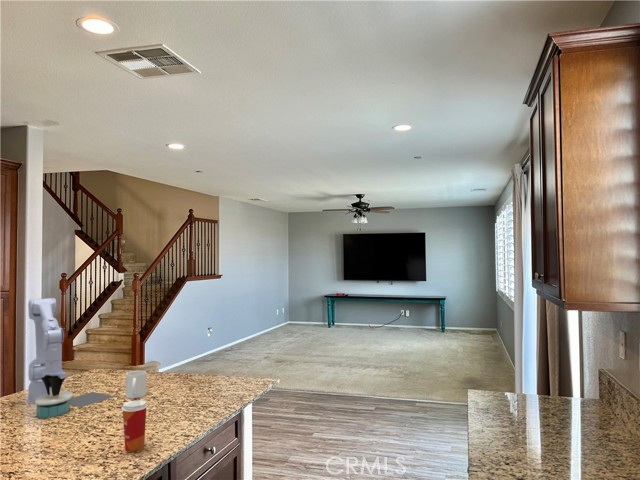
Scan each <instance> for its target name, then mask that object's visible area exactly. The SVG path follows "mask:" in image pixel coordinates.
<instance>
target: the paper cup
mask: <svg viewBox="0 0 640 480" xmlns="http://www.w3.org/2000/svg"><path fill="white" fill-rule="evenodd" d="M147 408H148V404H147V402H146V401H145V400H140V399H139V400H130V401H126V402H124V403H123V405H122V407H121V411H122V417H123V418H122V422H123V436H124V437H123V438H124V448H125V451H126V452H136V451H139V450H142V449H143V448H144V447H145V437H146V436H145V435H146V434H145V433H146V418H147Z"/></svg>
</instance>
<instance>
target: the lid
mask: <svg viewBox="0 0 640 480" xmlns="http://www.w3.org/2000/svg"><path fill="white" fill-rule="evenodd" d="M49 388H50V395H48V394H45V395H42V396H40V397H38V398H36V399H35V404H34V405H36V406H37V405H52V404H57V403H61V402H64V401H67V400H69V399H71V398H73V397H74V393H73V391H71V390H60V392H59V395H56V396H53V395H52V387H49Z"/></svg>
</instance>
